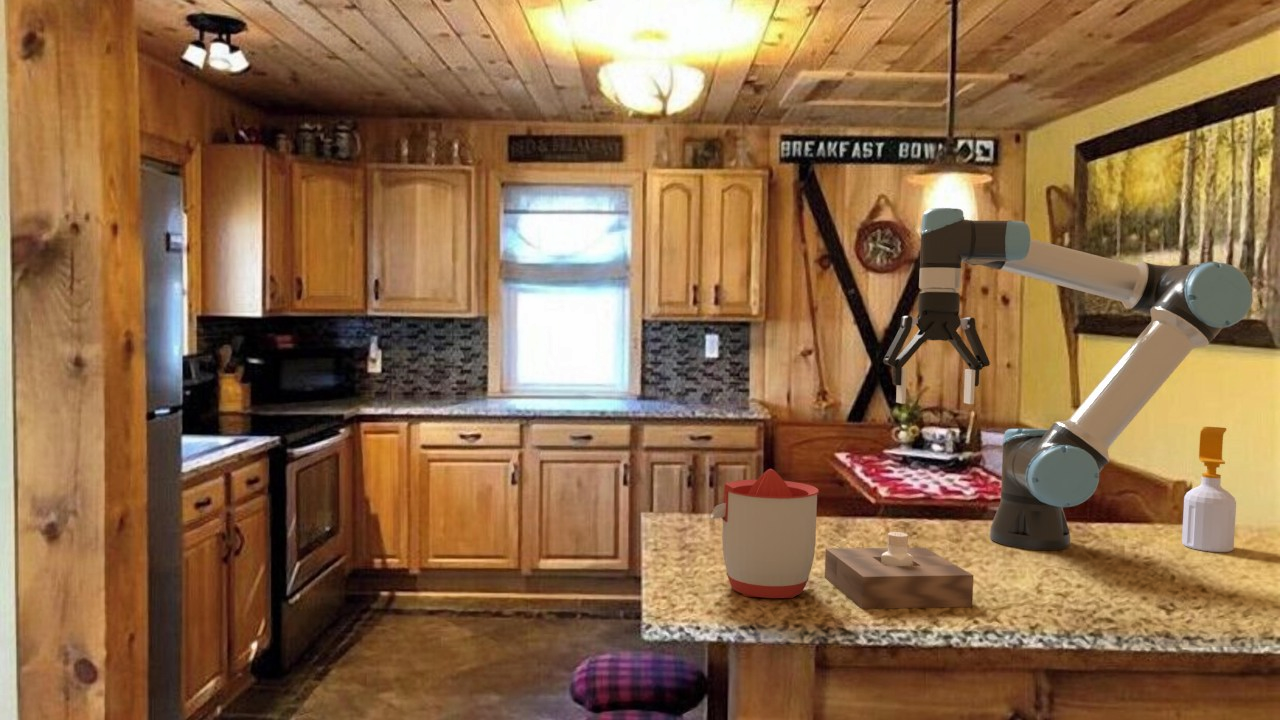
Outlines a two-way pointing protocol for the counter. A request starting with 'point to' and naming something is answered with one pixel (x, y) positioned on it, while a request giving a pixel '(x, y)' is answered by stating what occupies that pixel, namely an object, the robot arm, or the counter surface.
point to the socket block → (898, 579)
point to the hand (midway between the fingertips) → (934, 403)
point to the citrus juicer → (768, 535)
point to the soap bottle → (1209, 501)
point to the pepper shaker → (897, 551)
